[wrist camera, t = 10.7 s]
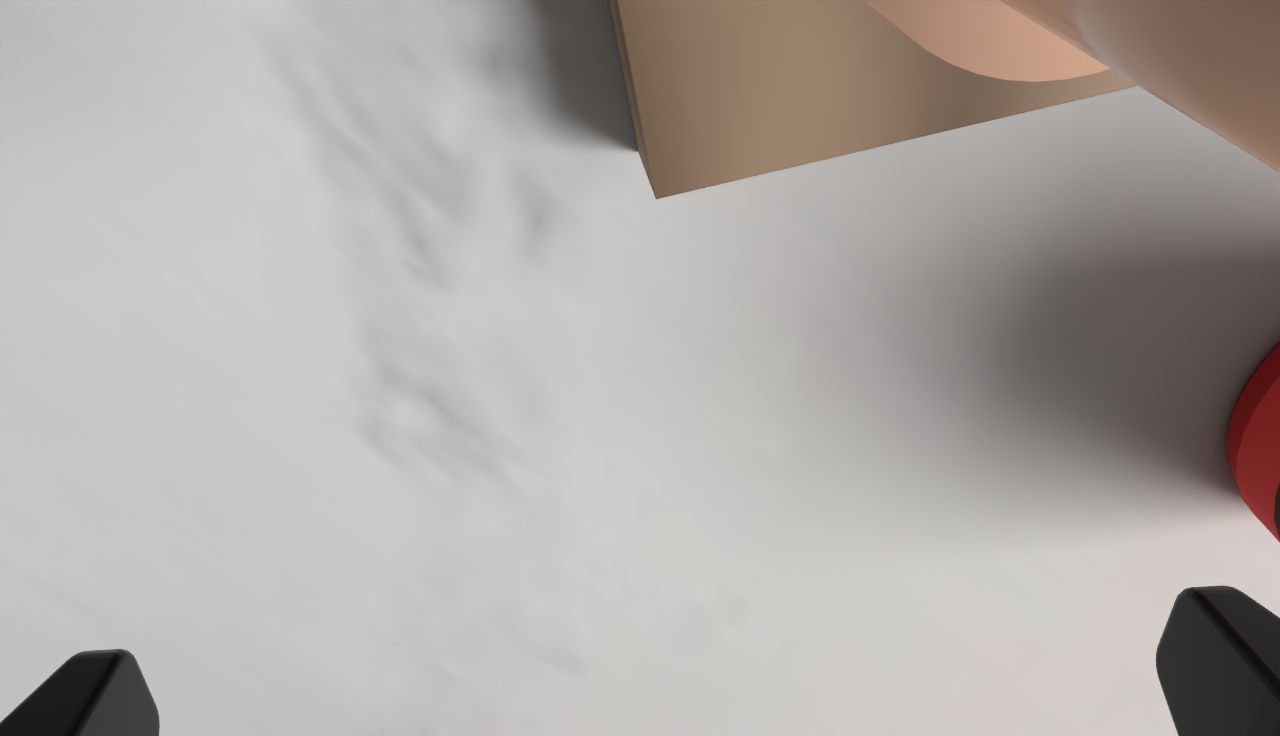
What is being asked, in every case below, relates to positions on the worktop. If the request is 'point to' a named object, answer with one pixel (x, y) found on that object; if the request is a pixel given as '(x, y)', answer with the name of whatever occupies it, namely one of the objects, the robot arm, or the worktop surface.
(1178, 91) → the peach chess pawn
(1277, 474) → the canned food
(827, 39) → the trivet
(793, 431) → the worktop surface
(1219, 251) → the worktop surface
